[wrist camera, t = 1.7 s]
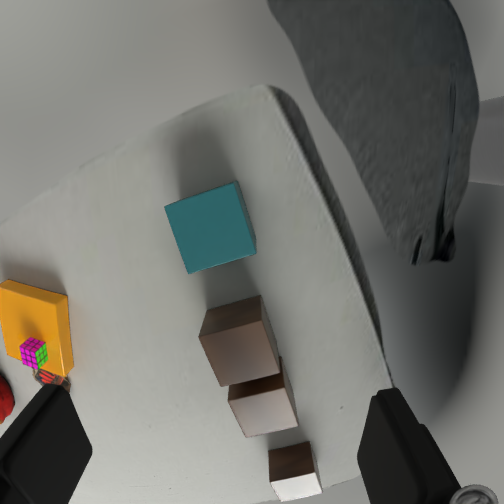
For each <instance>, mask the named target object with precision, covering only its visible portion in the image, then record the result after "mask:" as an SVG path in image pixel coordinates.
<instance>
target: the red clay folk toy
mask: <svg viewBox="0 0 504 504" xmlns="http://www.w3.org/2000/svg"><path fill="white" fill-rule="evenodd" d="M14 406H15V401H14V396H13V393H12V390H11V388H10V387H9V385H8V383H7V382H6V381H5V379H4V378H3V377H2V376H1V375H0V424H2V423H3V422H4V420H5V418H6V417H7V416H9V415H10V414H11V412H12V410H13V408H14Z"/></svg>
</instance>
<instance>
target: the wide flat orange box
mask: <svg viewBox="0 0 504 504" xmlns="http://www.w3.org/2000/svg"><path fill="white" fill-rule="evenodd" d="M0 321H1V327H2V332H3V337H4V342H5V347H6V352H7V355H9V356H11V357H14V358H16V359H18V360H21V361H22V362H23V364H25V365H27V366H29V367H32V368H34V369H37V370H39V369H40V368H41V369H43V370H46V371H49V372H51V373H54V374H57V375H60V376H63V377H65V376H66V375H67V374H68V373H69V372H70V370H71V369H72V368H73V367H74V362H73V354H72V346H71V337H70V326H69V313H68V297H67V296H66V295H62V294H58V293H54V292H51V291H47V290H43V289H40V288H36V287H33V286H29V285H26V284H22V283H19V282H15V281H12V280H9V279H8V280H6V281H4V282H2V283H1V284H0Z"/></svg>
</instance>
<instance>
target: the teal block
mask: <svg viewBox="0 0 504 504" xmlns="http://www.w3.org/2000/svg"><path fill="white" fill-rule="evenodd" d="M164 208H165V211H166V214H167V217H168V220H169V223H170V225H171V228H172V231H173V234H174V237H175V240H176V242H177V245H178V248H179V251H180V253H181V256H182V259H183V261H184V264H185V267H186V269H187V272H188V274H191V273H194V272H198V271H201V270H204V269H208V268H211V267H214V266H217V265H221V264H224V263H227V262H231V261H234V260H237V259H240V258H244V257H247V256H250V255H254V254H256V236H255V233H254V230H253V227H252V224H251V221H250V218H249V215H248V211H247V208H246V205H245V202H244V199H243V196H242V193H241V190H240V187H239V183H238V181H235V182H232V183H229V184H226V185H223V186H220V187H217V188H214V189H211V190H208V191H205V192H202V193H199V194H196V195H193V196H190V197H187V198H185V199H182V200H179V201H176V202H174V203H171V204H169V205H166V206H165V207H164Z"/></svg>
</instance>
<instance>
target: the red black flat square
mask: <svg viewBox="0 0 504 504" xmlns="http://www.w3.org/2000/svg"><path fill="white" fill-rule="evenodd" d="M35 370H36V372H35ZM35 370H34V371H33V376H34V379H35V380H36V381H38V382H39V383H40V384H41V385H42V386H44V385H45V384H46V383H52V384H57V385H61V386H63V387H64V388H65V390H66V391H68V392H69V393H70V386H71V383H69V382H68V381H67V380H66V379H67V378H68V375H66V378H64V377H62V376H60V375H57V374H54V373H51V372H49V371H46V370H43V369H41V368H40V369H39V370H37V369H35Z"/></svg>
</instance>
